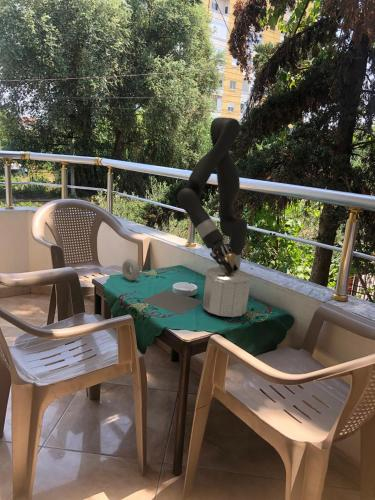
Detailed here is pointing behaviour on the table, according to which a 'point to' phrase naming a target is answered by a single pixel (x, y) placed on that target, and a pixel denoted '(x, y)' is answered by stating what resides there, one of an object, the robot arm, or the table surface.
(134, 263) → the donut
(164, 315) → the table surface
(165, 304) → the mat
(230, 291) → the cylinder
